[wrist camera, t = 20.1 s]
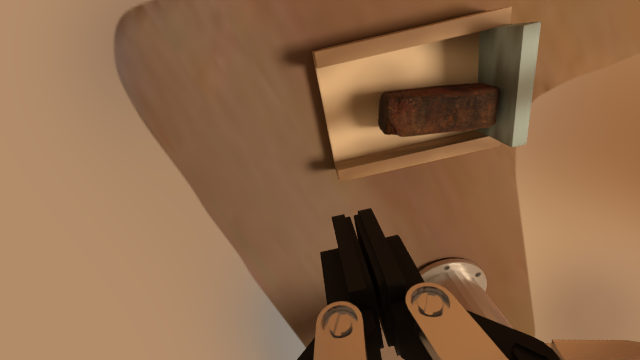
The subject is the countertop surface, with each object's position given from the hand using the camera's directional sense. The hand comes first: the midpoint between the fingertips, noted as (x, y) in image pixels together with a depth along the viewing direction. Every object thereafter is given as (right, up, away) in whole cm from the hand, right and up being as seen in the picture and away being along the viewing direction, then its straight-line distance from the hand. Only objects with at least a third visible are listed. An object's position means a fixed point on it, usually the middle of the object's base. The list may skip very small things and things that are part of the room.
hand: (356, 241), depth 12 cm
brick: (+10, +11, +19) cm, 24 cm away
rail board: (+8, +12, +20) cm, 24 cm away
